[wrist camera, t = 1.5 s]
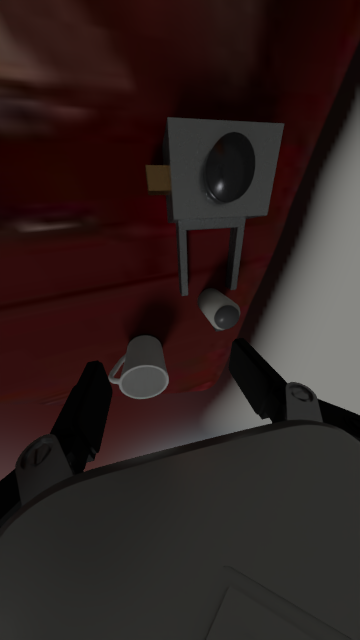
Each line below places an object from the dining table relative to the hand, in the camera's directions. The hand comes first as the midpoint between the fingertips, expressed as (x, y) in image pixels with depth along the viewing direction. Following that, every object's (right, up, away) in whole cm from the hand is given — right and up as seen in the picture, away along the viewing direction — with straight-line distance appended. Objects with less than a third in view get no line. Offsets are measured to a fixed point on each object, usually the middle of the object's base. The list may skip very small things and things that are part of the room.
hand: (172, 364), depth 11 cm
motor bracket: (+4, +19, +16) cm, 25 cm away
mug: (-9, -3, +26) cm, 27 cm away
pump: (+7, +8, +23) cm, 25 cm away
